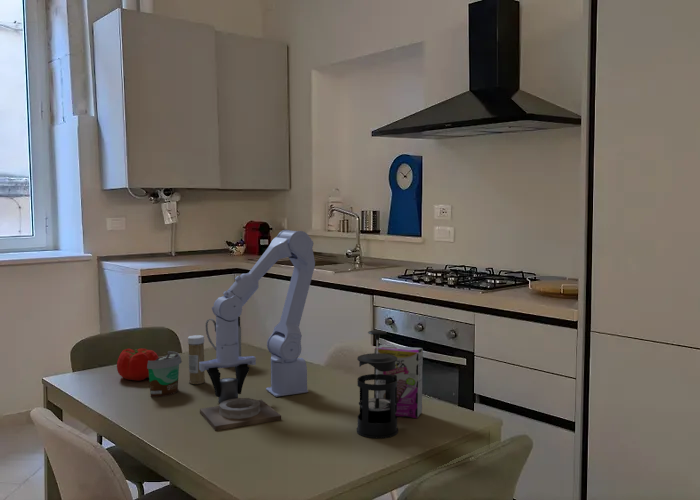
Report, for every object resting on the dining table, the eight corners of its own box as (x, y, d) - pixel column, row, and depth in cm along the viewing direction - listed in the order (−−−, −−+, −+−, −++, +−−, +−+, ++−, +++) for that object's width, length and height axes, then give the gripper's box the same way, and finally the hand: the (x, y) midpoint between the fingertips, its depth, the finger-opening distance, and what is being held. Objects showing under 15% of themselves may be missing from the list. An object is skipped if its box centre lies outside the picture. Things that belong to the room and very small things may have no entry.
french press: (379, 442, 142) (379, 337, 140) (346, 432, 148) (345, 331, 146) (410, 428, 151) (410, 329, 149) (377, 419, 157) (378, 324, 155)
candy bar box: (373, 414, 160) (373, 348, 159) (379, 408, 165) (379, 344, 164) (418, 419, 157) (418, 351, 155) (422, 413, 161) (423, 347, 160)
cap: (234, 397, 175) (234, 376, 174) (240, 402, 170) (240, 381, 170) (216, 399, 172) (215, 379, 172) (221, 405, 168) (221, 383, 168)
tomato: (170, 376, 196) (169, 347, 195) (136, 386, 185) (135, 356, 185) (141, 370, 202) (140, 343, 202) (107, 379, 192) (106, 351, 191)
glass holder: (229, 368, 204) (228, 320, 203) (196, 362, 212) (196, 316, 210) (248, 362, 211) (247, 316, 210) (216, 357, 219) (215, 312, 218)
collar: (261, 403, 169) (261, 392, 169) (281, 419, 157) (281, 407, 156) (199, 412, 162) (199, 400, 162) (215, 430, 149) (215, 417, 149)
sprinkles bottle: (208, 382, 189) (207, 336, 188) (194, 385, 185) (193, 338, 184) (199, 379, 192) (198, 334, 191) (185, 382, 189) (184, 336, 188)
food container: (169, 399, 173) (168, 362, 172) (147, 398, 174) (146, 361, 173) (189, 386, 185) (189, 351, 184) (169, 385, 186) (168, 350, 185)
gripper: (249, 337, 177) (250, 386, 178) (195, 342, 170) (196, 394, 171) (258, 342, 171) (258, 393, 172) (202, 348, 164) (203, 401, 165)
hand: (228, 394), depth 171 cm, fingers closed on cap, 5 cm apart
